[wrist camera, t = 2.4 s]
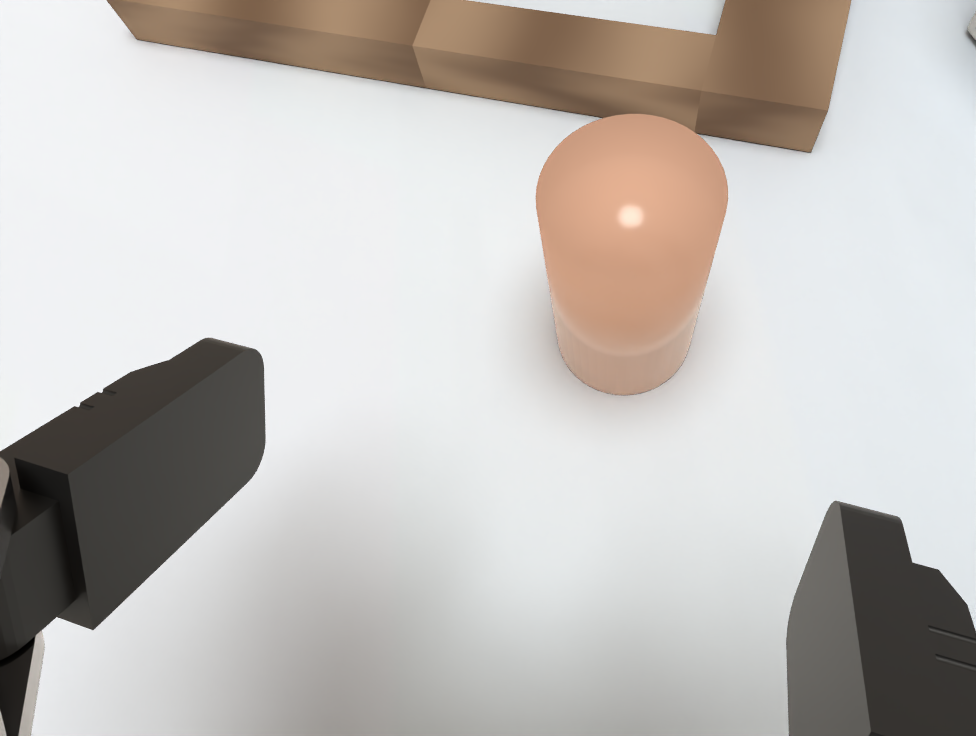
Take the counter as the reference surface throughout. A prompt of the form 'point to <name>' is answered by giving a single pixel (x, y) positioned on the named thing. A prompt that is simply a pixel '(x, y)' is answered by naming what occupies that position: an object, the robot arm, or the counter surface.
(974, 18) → the medicine box
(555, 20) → the hole board
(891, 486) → the counter surface
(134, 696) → the counter surface
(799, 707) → the robot arm
